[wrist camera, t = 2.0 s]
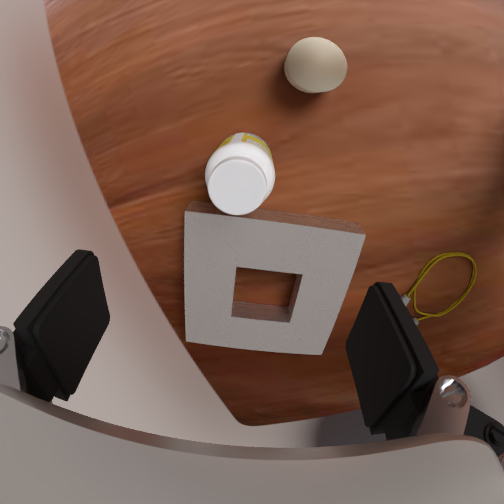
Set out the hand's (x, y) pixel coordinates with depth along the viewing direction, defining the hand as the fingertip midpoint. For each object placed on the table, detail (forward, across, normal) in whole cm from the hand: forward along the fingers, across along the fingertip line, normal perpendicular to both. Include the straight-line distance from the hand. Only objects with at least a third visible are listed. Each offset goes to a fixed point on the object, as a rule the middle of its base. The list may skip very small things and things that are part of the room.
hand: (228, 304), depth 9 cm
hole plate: (+21, -4, +14) cm, 25 cm away
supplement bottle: (+21, 0, 0) cm, 21 cm away
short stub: (+21, -5, -10) cm, 24 cm away
